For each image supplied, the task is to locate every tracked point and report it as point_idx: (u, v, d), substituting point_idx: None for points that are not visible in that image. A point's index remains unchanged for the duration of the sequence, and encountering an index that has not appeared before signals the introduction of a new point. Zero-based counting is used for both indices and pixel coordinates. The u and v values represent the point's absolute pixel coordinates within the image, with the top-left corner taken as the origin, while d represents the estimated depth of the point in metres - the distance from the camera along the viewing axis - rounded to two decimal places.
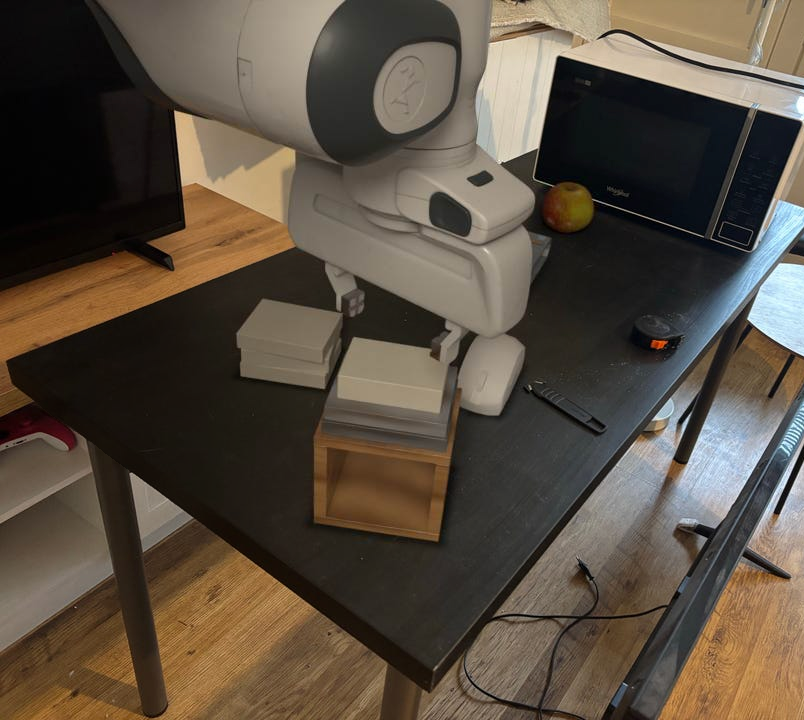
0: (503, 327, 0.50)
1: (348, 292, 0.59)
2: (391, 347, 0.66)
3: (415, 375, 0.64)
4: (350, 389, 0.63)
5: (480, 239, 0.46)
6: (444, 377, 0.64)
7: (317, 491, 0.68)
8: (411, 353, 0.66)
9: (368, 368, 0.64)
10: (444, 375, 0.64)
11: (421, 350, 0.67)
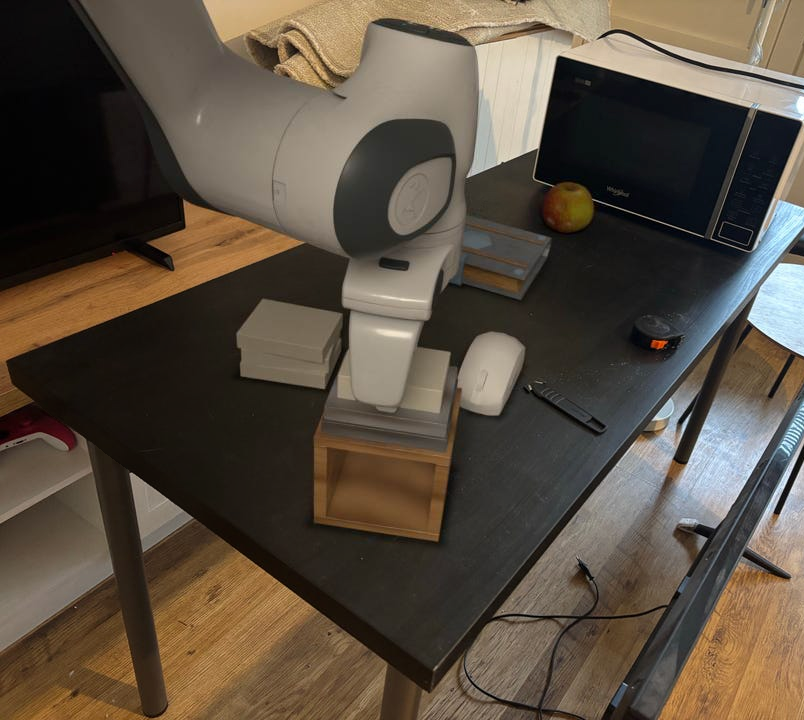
0: (357, 395, 0.54)
1: None
2: None
3: (415, 375, 0.64)
4: (350, 389, 0.63)
5: (342, 302, 0.52)
6: (444, 377, 0.64)
7: (317, 491, 0.68)
8: None
9: None
10: (444, 375, 0.64)
11: (421, 350, 0.67)
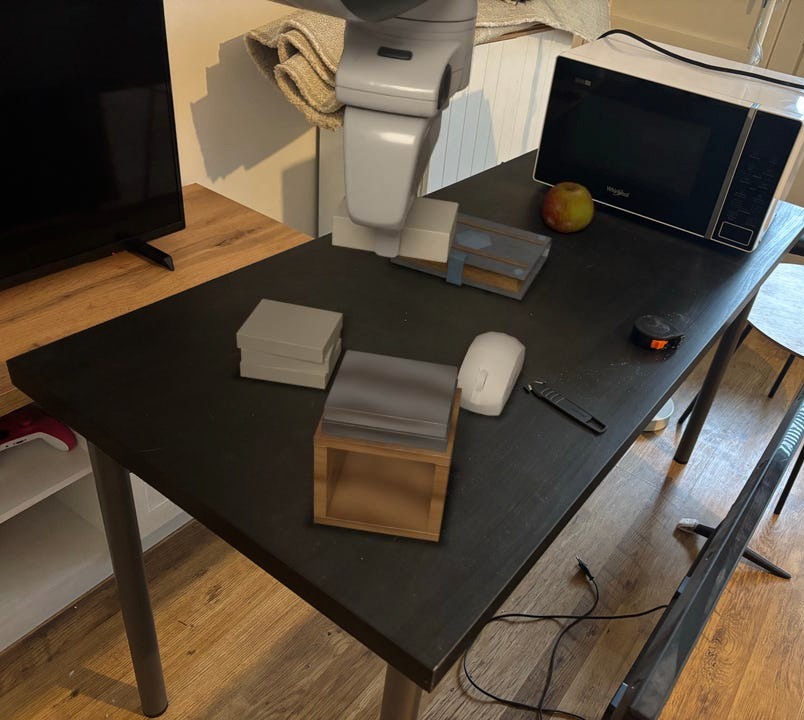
0: (353, 211, 0.47)
1: None
2: None
3: (419, 219, 0.57)
4: (346, 234, 0.56)
5: (335, 95, 0.45)
6: (451, 223, 0.57)
7: (317, 491, 0.68)
8: (415, 201, 0.60)
9: None
10: (451, 221, 0.57)
11: (426, 200, 0.60)
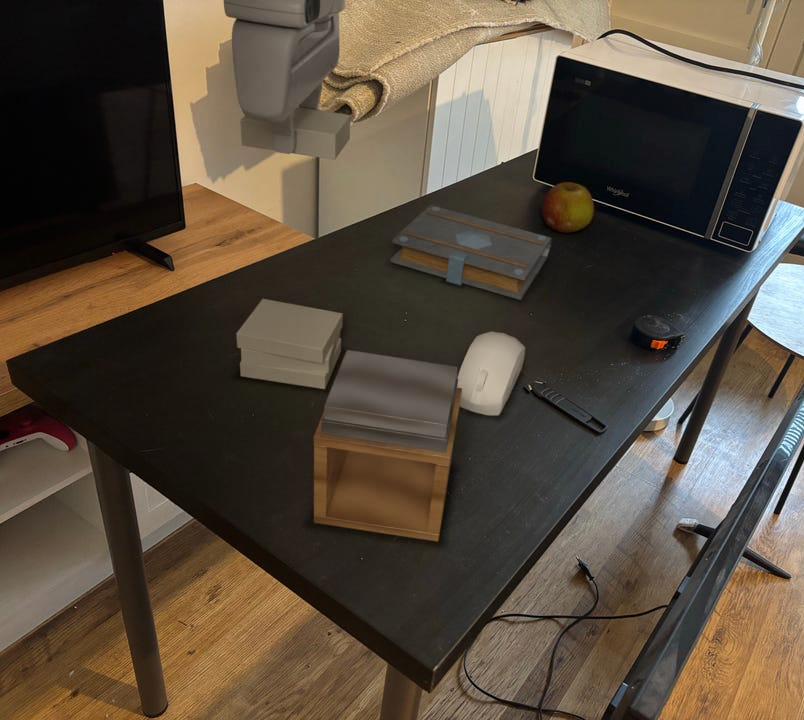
0: (243, 104, 0.61)
1: (305, 107, 0.74)
2: None
3: (313, 124, 0.70)
4: (252, 135, 0.69)
5: None
6: (339, 127, 0.70)
7: (317, 491, 0.68)
8: (313, 113, 0.72)
9: None
10: (339, 126, 0.70)
11: (322, 112, 0.73)
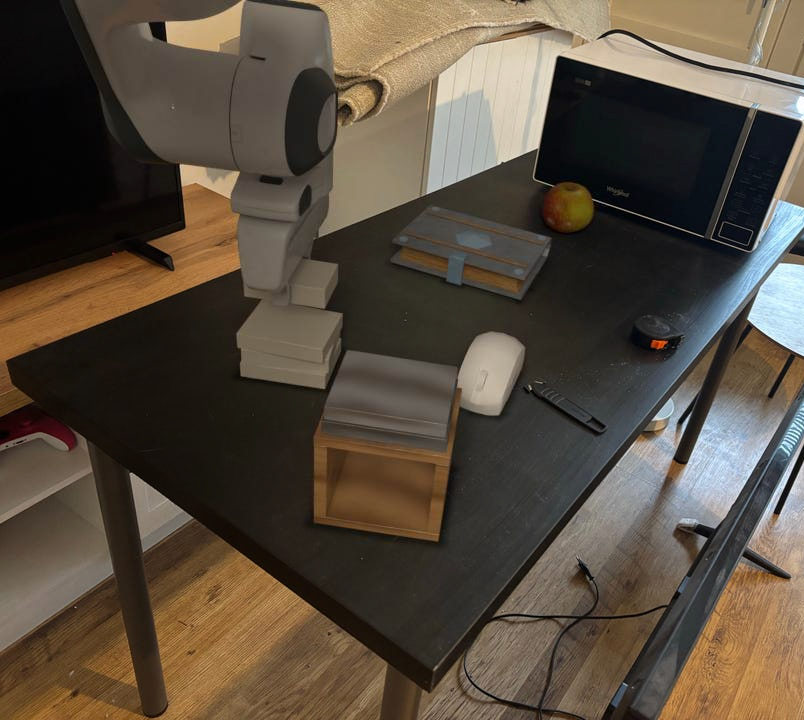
0: (246, 281, 0.72)
1: None
2: None
3: (305, 278, 0.81)
4: None
5: (231, 208, 0.69)
6: (328, 280, 0.81)
7: (317, 491, 0.68)
8: (306, 263, 0.84)
9: None
10: (329, 279, 0.82)
11: (314, 262, 0.84)
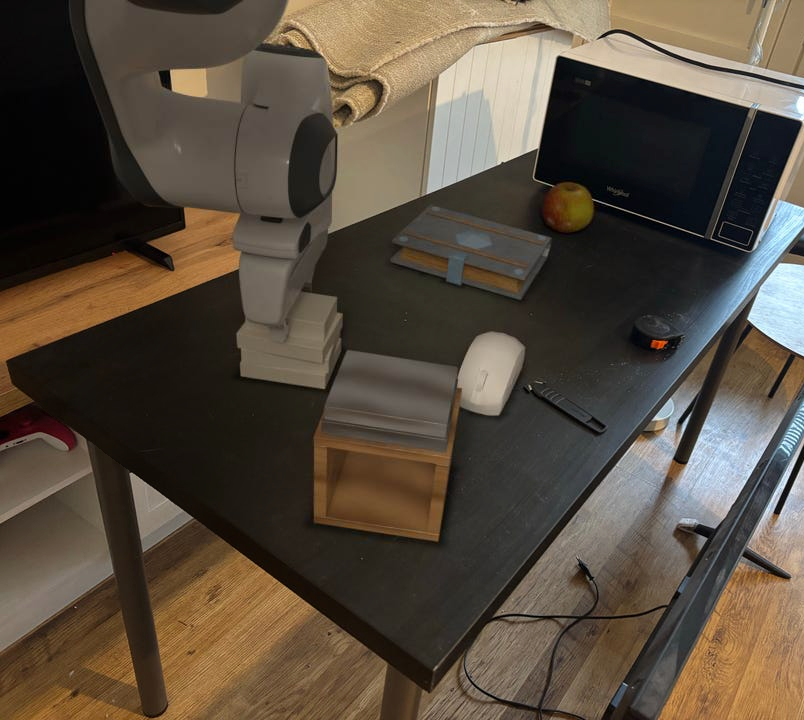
0: (248, 315, 0.74)
1: None
2: None
3: (305, 312, 0.84)
4: None
5: (233, 246, 0.72)
6: (328, 314, 0.84)
7: (317, 491, 0.68)
8: (306, 297, 0.86)
9: None
10: (328, 313, 0.84)
11: (314, 295, 0.87)
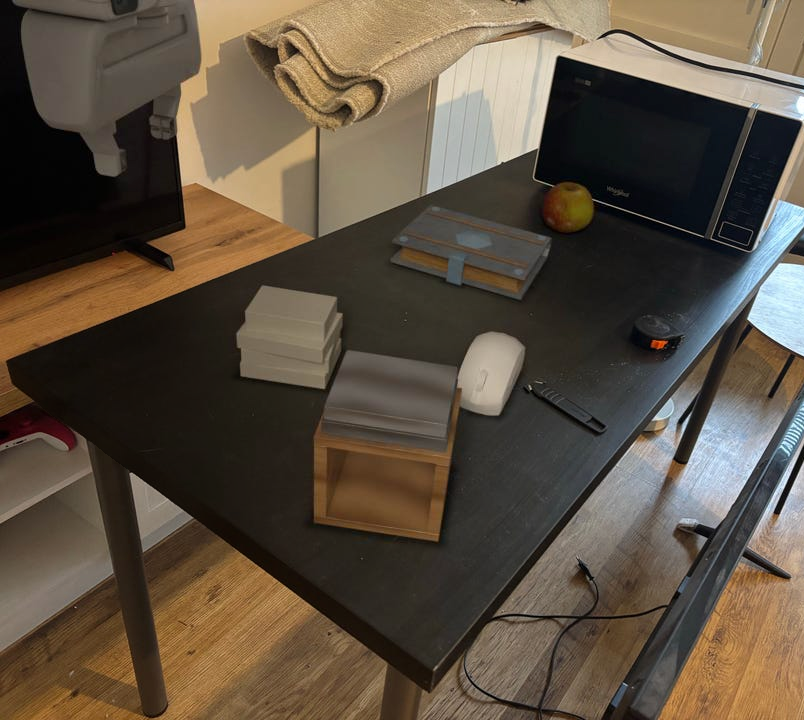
0: (41, 111, 0.50)
1: (161, 115, 0.65)
2: (290, 293, 0.87)
3: (305, 312, 0.84)
4: (255, 322, 0.83)
5: None
6: (328, 314, 0.84)
7: (317, 491, 0.68)
8: (306, 297, 0.86)
9: (269, 307, 0.84)
10: (328, 313, 0.84)
11: (314, 295, 0.87)
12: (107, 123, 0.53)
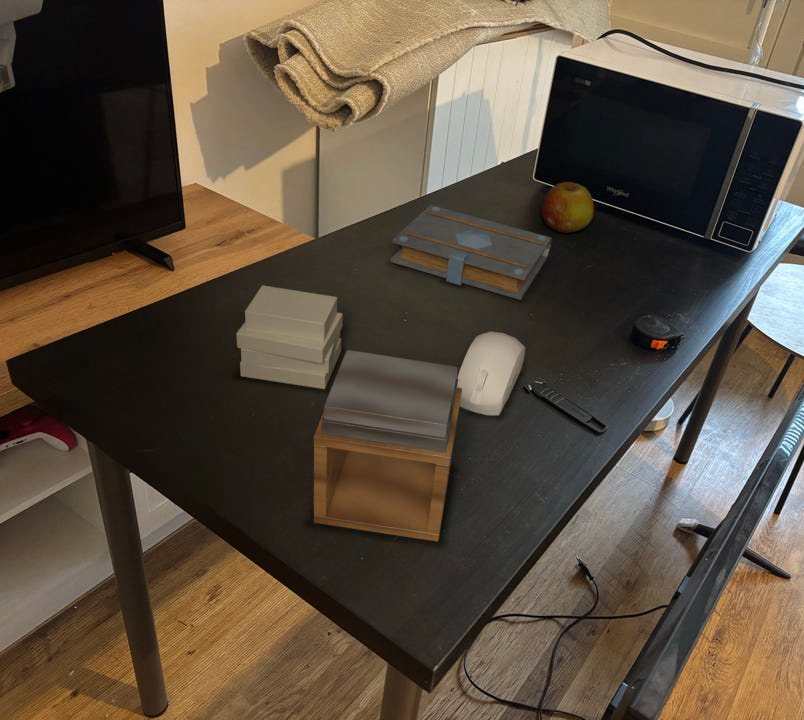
0: None
1: None
2: (290, 293, 0.87)
3: (305, 312, 0.84)
4: (255, 322, 0.83)
5: None
6: (328, 314, 0.84)
7: (317, 491, 0.68)
8: (306, 297, 0.86)
9: (269, 307, 0.84)
10: (328, 313, 0.84)
11: (314, 295, 0.87)
12: None
